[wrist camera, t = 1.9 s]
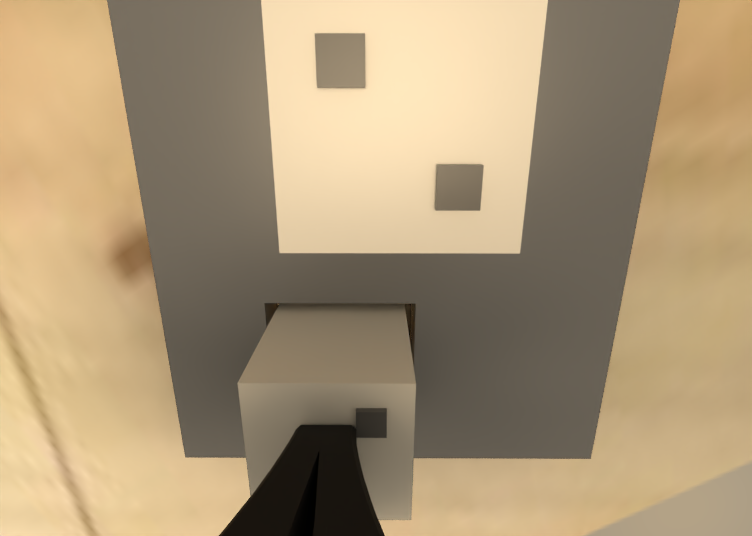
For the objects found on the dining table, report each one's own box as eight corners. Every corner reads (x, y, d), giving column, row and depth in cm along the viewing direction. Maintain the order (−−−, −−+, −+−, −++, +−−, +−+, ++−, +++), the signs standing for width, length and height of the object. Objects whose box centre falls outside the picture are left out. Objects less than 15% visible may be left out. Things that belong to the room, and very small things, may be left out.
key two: (474, 36, 11) (555, -30, 6) (464, 200, 12) (522, 255, 7) (310, 36, 11) (256, -29, 6) (317, 200, 12) (277, 255, 7)
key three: (403, 297, 15) (416, 387, 10) (401, 400, 16) (411, 525, 11) (282, 297, 15) (235, 387, 10) (290, 399, 16) (252, 524, 11)
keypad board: (719, -413, 10) (778, -505, 8) (572, 429, 17) (590, 458, 15) (74, -410, 10) (21, -502, 8) (201, 428, 17) (185, 457, 15)
